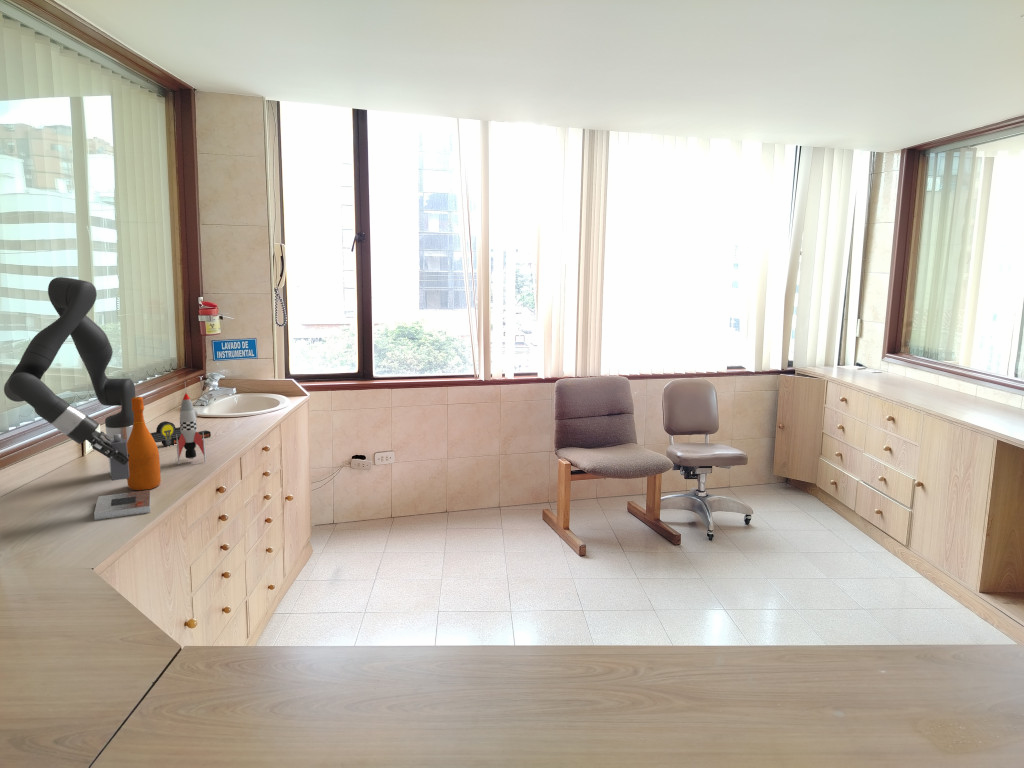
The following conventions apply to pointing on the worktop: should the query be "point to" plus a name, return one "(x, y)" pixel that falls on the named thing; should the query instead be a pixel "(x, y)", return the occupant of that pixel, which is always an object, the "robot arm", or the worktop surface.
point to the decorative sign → (171, 433)
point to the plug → (117, 468)
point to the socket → (122, 504)
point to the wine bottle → (142, 452)
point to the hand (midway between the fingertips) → (126, 459)
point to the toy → (189, 430)
